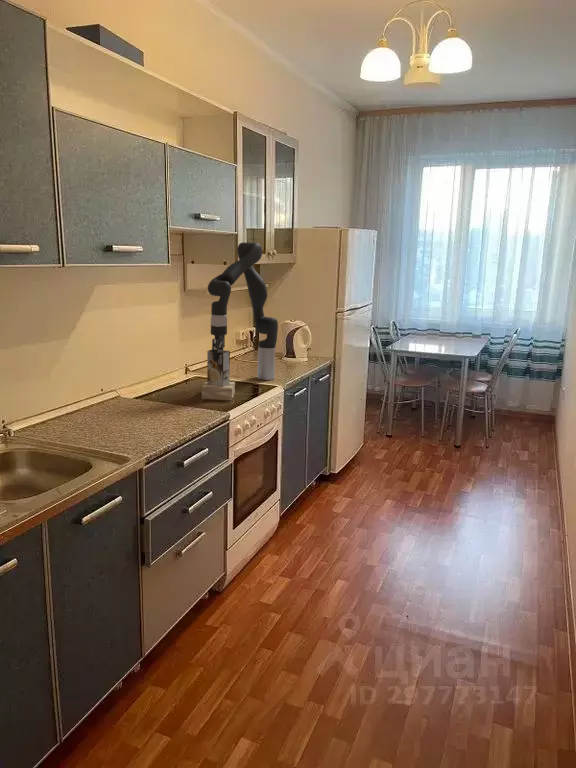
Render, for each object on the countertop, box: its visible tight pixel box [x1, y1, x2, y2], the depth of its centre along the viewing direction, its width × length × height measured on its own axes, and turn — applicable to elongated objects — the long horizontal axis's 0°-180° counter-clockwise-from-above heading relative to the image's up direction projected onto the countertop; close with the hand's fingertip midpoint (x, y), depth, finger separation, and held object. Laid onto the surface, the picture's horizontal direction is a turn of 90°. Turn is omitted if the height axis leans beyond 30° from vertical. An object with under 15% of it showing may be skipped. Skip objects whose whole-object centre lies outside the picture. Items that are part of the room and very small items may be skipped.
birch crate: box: [201, 380, 236, 401], centre depth 268 cm, size 14×14×6 cm
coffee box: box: [206, 349, 231, 386], centre depth 266 cm, size 9×6×16 cm
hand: (218, 358), depth 265 cm, fingers open, 8 cm apart
